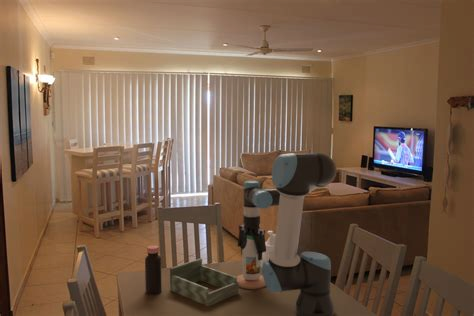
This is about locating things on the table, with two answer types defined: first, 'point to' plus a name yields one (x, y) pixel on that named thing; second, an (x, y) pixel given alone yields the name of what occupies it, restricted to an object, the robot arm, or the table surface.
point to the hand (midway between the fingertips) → (251, 264)
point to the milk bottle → (250, 260)
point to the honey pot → (268, 247)
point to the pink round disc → (251, 282)
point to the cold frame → (195, 271)
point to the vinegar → (153, 270)
